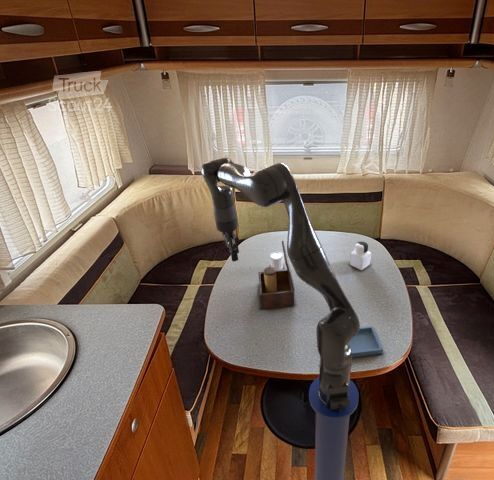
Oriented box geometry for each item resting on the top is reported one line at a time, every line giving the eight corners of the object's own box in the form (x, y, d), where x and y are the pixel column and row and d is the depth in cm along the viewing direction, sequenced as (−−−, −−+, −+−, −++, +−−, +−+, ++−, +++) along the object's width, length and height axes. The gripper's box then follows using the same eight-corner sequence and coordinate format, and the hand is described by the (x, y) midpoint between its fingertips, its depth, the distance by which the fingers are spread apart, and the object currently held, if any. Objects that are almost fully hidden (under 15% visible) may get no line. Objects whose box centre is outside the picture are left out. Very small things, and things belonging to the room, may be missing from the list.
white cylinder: (281, 262, 176) (280, 250, 172) (286, 269, 170) (285, 257, 167) (267, 265, 173) (267, 253, 169) (273, 273, 168) (272, 261, 164)
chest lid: (285, 262, 137) (287, 262, 137) (281, 241, 150) (283, 240, 150) (292, 291, 145) (294, 290, 145) (288, 268, 158) (290, 267, 158)
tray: (382, 353, 127) (382, 349, 126) (339, 359, 125) (339, 355, 124) (372, 329, 137) (372, 325, 136) (332, 334, 135) (332, 330, 134)
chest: (261, 308, 147) (259, 295, 143) (259, 285, 160) (258, 271, 157) (294, 305, 149) (293, 291, 145) (290, 282, 162) (289, 268, 158)
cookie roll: (277, 297, 152) (276, 273, 146) (266, 298, 152) (263, 274, 145) (277, 289, 156) (275, 266, 150) (265, 290, 156) (263, 267, 149)
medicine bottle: (358, 258, 177) (360, 238, 171) (370, 264, 173) (372, 243, 167) (349, 264, 173) (351, 243, 167) (361, 270, 169) (363, 249, 162)
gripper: (210, 209, 127) (217, 247, 136) (219, 227, 116) (227, 267, 125) (230, 205, 130) (236, 242, 139) (242, 222, 119) (247, 261, 128)
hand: (232, 254), depth 132 cm, fingers open, 8 cm apart
